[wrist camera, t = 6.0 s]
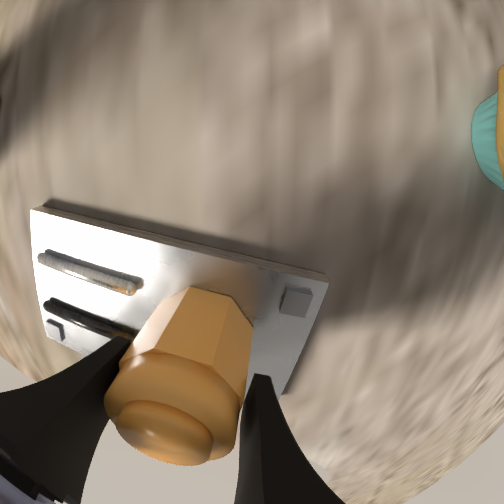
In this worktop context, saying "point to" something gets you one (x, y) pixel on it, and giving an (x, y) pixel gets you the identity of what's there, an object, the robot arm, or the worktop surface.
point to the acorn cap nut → (184, 379)
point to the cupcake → (490, 134)
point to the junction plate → (163, 287)
